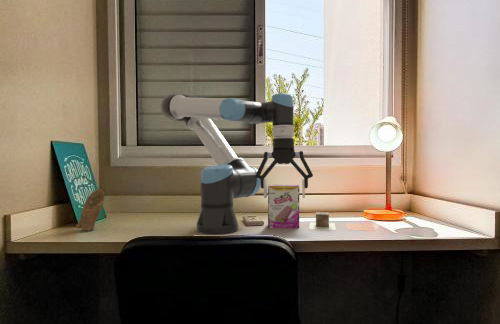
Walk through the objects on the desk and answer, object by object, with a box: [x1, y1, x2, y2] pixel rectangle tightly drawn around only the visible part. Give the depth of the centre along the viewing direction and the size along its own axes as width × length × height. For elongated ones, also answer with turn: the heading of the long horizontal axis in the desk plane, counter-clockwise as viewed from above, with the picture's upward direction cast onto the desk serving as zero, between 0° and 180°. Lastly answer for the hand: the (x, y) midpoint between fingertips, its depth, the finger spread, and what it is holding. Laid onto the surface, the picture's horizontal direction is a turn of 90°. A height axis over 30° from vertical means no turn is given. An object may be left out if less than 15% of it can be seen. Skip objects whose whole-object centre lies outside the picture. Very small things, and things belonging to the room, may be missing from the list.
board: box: [308, 222, 377, 232], centre depth 130 cm, size 24×14×2 cm, turn 79°
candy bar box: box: [267, 184, 300, 229], centre depth 131 cm, size 11×5×16 cm, turn 84°
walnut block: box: [315, 211, 330, 227], centre depth 131 cm, size 4×4×4 cm
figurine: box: [75, 188, 105, 231], centre depth 135 cm, size 8×8×15 cm
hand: (284, 197), depth 130 cm, fingers open, 13 cm apart
